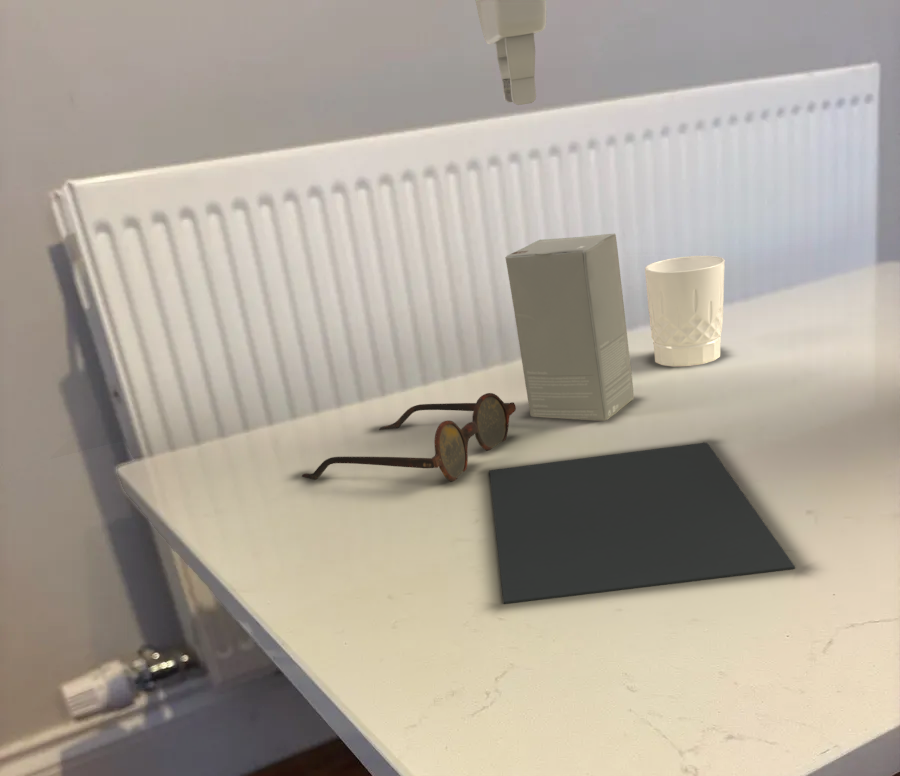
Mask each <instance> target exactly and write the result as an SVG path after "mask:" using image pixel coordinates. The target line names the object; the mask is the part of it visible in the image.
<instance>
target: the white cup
mask: <svg viewBox="0 0 900 776" xmlns="http://www.w3.org/2000/svg"><path fill="white" fill-rule="evenodd" d="M725 263H726V260H725V258H723V257H720V256H716V255H689V256H681V257H673V258H667V259H662V260H658V261H655V262H652V263H649V264H647V265H646V266H645V267H644V274H645V284H646V295H647V296H646V297H647V307H648V308H647V310H648V314H649V327H650V332H651V339H652V344H653V352H654V363H656V364H659V365H660V366H666V367H693V366H698V365H704V364H707V363H711V362H714V361H716V360H717V359H718V358H720V357H721V339H722V338H721V335H722V332H723V320H724V298H725V297H724V295H725V294H724V293H725V266H726V264H725Z"/></svg>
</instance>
